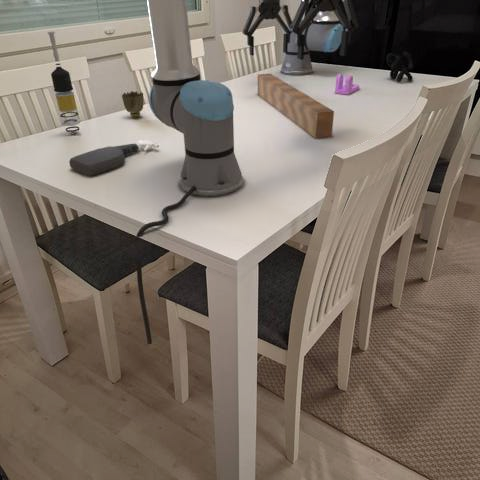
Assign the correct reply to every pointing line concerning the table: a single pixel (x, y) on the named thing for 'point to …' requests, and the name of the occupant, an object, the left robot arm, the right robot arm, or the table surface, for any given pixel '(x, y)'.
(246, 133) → the table surface
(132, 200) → the table surface
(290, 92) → the bar
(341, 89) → the bracket
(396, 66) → the squiggle
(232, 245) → the table surface
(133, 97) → the cup
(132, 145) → the spray bottle
